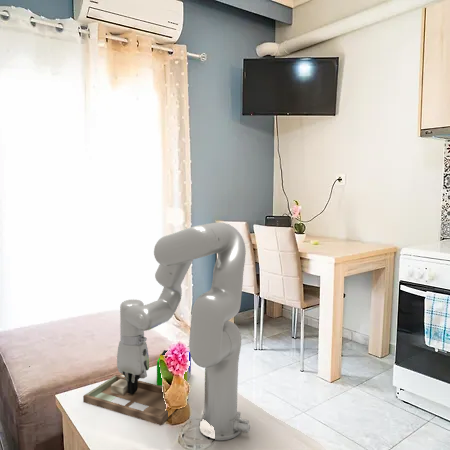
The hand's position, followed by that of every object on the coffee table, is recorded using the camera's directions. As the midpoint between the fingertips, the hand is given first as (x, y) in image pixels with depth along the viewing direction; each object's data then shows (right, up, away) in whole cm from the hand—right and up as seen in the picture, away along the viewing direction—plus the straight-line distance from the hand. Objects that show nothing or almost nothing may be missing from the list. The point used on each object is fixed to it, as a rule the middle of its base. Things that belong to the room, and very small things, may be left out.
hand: (132, 391), depth 134 cm
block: (-4, 0, +2) cm, 4 cm away
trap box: (+2, -3, -4) cm, 5 cm away
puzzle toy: (+13, -2, +10) cm, 16 cm away
